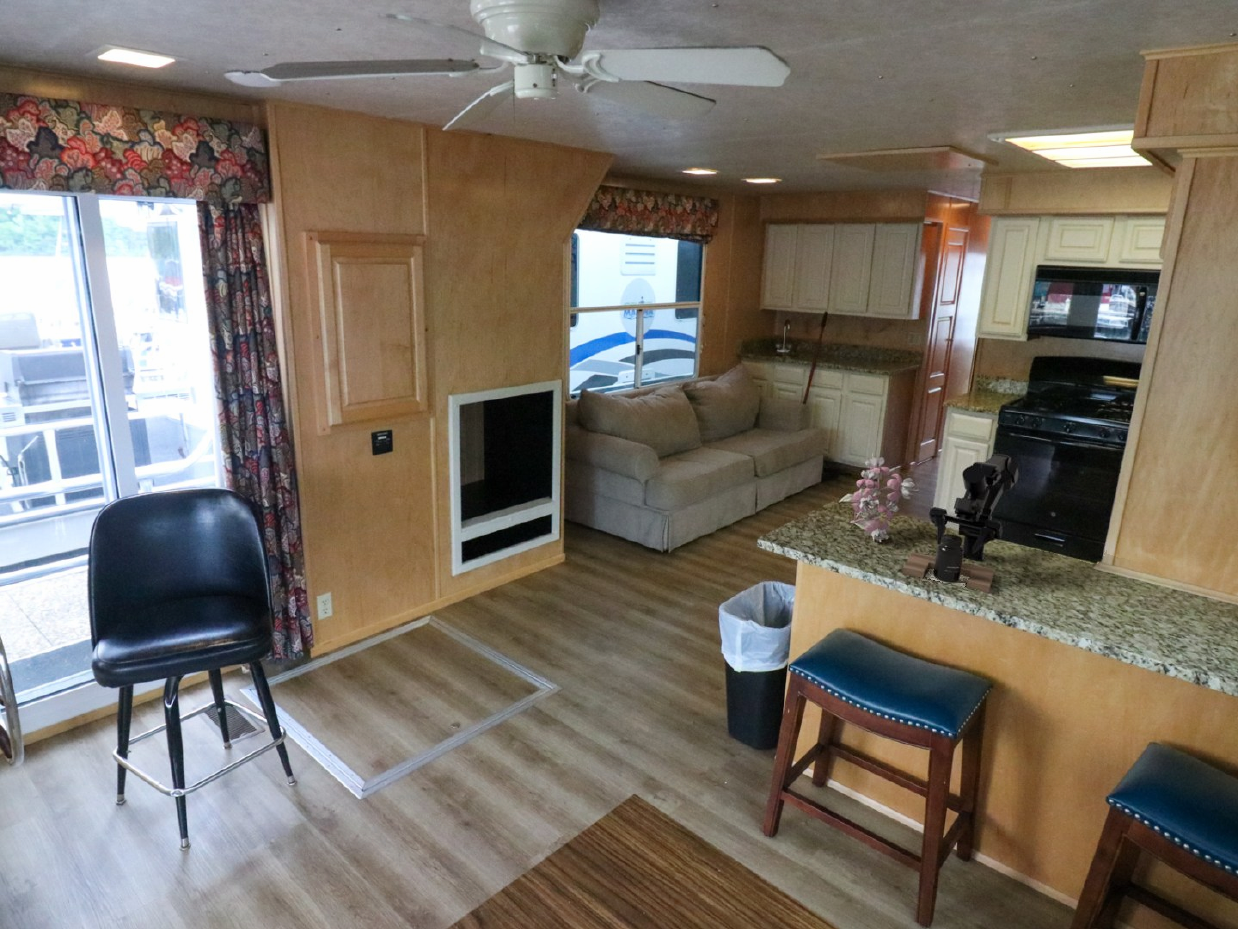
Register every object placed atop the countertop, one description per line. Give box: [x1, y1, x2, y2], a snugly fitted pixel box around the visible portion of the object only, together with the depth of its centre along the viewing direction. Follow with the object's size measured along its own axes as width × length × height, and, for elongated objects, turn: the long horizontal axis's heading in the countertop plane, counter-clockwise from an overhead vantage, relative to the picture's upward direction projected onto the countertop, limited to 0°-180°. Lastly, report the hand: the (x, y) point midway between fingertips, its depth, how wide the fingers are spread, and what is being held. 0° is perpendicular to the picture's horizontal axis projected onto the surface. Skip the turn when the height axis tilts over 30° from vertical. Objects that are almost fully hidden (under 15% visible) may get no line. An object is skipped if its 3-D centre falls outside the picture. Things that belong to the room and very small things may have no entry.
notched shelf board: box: [901, 551, 996, 594], centre depth 214 cm, size 14×22×2 cm, turn 60°
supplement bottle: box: [933, 533, 964, 582], centre depth 210 cm, size 7×7×12 cm
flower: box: [838, 452, 920, 543], centre depth 243 cm, size 20×22×25 cm
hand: (955, 548), depth 212 cm, fingers open, 9 cm apart
